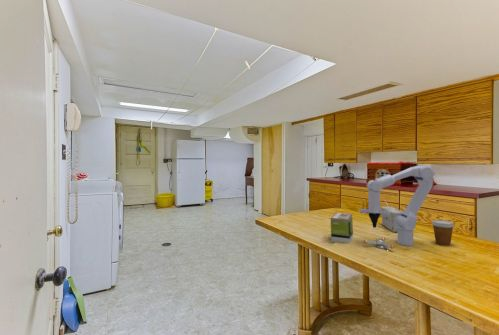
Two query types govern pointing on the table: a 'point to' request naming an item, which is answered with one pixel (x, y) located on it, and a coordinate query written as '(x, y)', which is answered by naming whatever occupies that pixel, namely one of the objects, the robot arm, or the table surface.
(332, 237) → the tea box
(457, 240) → the table surface
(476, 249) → the table surface
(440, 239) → the disposable coffee cup
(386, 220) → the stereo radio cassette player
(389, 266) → the table surface
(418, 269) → the table surface
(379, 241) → the capstan
